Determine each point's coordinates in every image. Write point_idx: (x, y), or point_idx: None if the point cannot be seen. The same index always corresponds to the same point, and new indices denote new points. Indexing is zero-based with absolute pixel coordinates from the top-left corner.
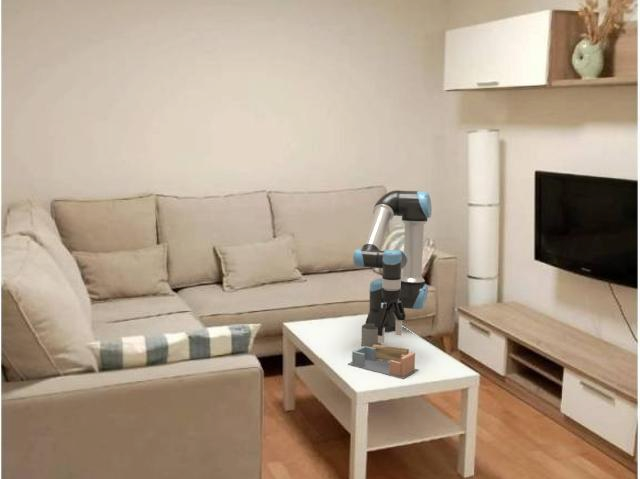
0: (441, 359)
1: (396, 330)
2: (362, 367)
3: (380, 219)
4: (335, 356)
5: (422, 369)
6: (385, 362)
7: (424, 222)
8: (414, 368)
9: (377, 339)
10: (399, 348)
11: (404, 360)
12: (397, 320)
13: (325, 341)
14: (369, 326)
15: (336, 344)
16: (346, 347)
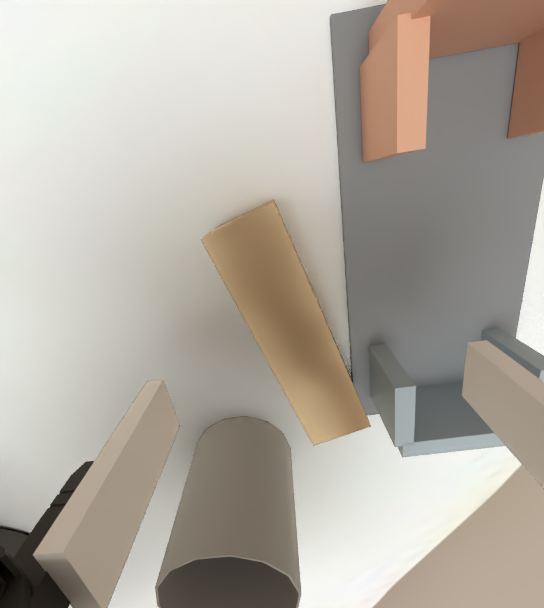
0: (11, 52)
1: (161, 453)
2: (514, 321)
3: None
4: (433, 483)
5: (294, 9)
6: (365, 287)
7: None
8: (372, 25)
9: (244, 476)
10: (252, 295)
11: None
12: (96, 587)
13: (311, 585)
14: (197, 603)
15: (308, 552)
16: (308, 517)
